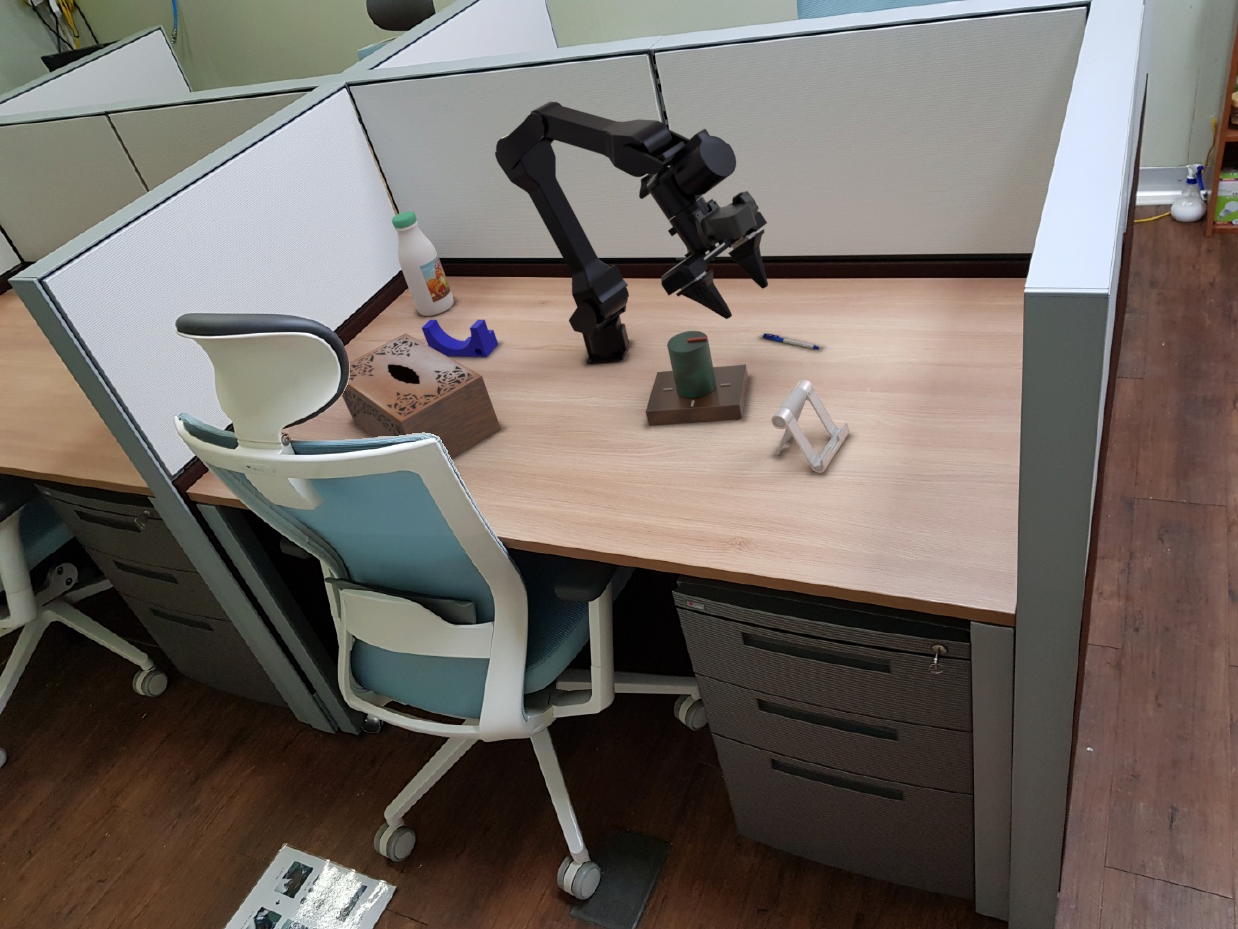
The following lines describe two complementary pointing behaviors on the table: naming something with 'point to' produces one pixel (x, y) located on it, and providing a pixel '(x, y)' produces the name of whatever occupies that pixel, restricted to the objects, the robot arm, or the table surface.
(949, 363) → the table surface
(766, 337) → the ballpoint pen
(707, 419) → the dial knob base plate
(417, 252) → the milk bottle
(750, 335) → the table surface
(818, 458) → the tablet stand
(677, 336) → the rotary knob
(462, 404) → the tissue box cover
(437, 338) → the cable clip
